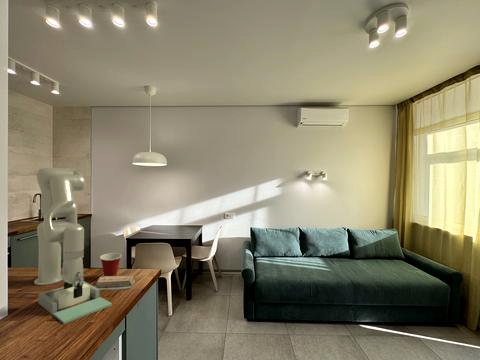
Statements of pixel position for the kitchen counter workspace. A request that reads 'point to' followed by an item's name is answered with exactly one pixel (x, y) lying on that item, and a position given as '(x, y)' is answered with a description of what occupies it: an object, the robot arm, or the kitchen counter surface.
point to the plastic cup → (110, 263)
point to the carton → (70, 296)
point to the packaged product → (115, 282)
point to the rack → (50, 305)
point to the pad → (81, 310)
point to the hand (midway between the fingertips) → (72, 294)
